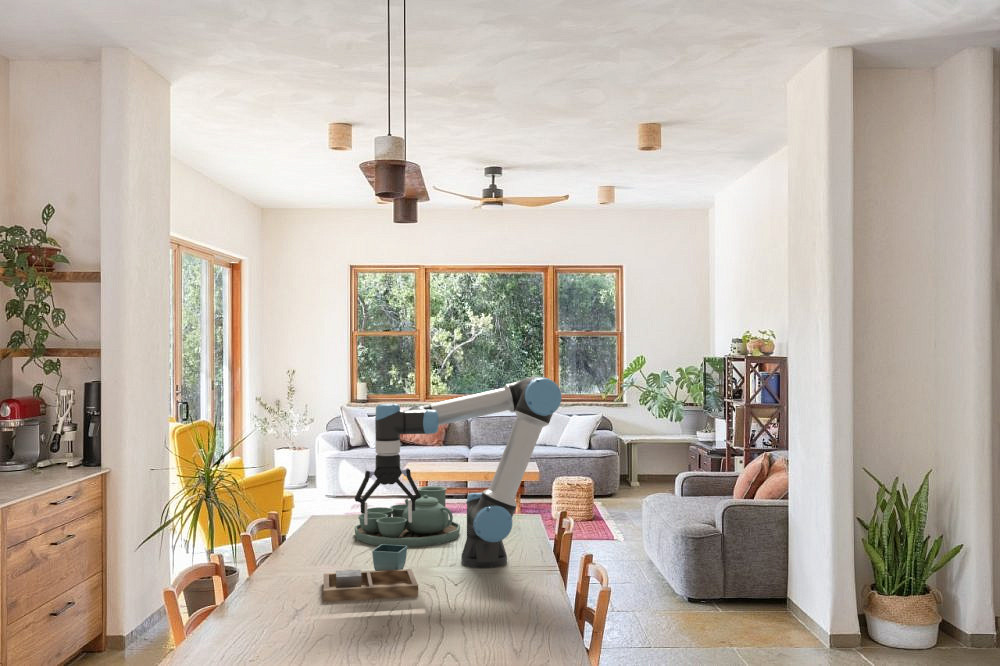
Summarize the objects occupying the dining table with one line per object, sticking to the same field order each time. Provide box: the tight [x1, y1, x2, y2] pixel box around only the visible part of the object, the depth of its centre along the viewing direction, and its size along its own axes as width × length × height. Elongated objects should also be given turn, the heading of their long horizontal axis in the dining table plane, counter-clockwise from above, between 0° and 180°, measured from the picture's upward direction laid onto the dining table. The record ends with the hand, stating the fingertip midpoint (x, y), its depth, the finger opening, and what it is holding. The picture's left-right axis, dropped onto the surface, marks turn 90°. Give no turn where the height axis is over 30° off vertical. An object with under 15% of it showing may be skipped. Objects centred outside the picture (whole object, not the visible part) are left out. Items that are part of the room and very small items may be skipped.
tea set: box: [354, 485, 461, 548], centre depth 314 cm, size 40×40×16 cm
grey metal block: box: [335, 569, 362, 588], centre depth 237 cm, size 7×7×5 cm
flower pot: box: [371, 544, 408, 571], centre depth 256 cm, size 9×9×9 cm
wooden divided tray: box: [322, 568, 419, 603], centre depth 238 cm, size 26×18×4 cm
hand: (388, 523), depth 256 cm, fingers open, 13 cm apart
